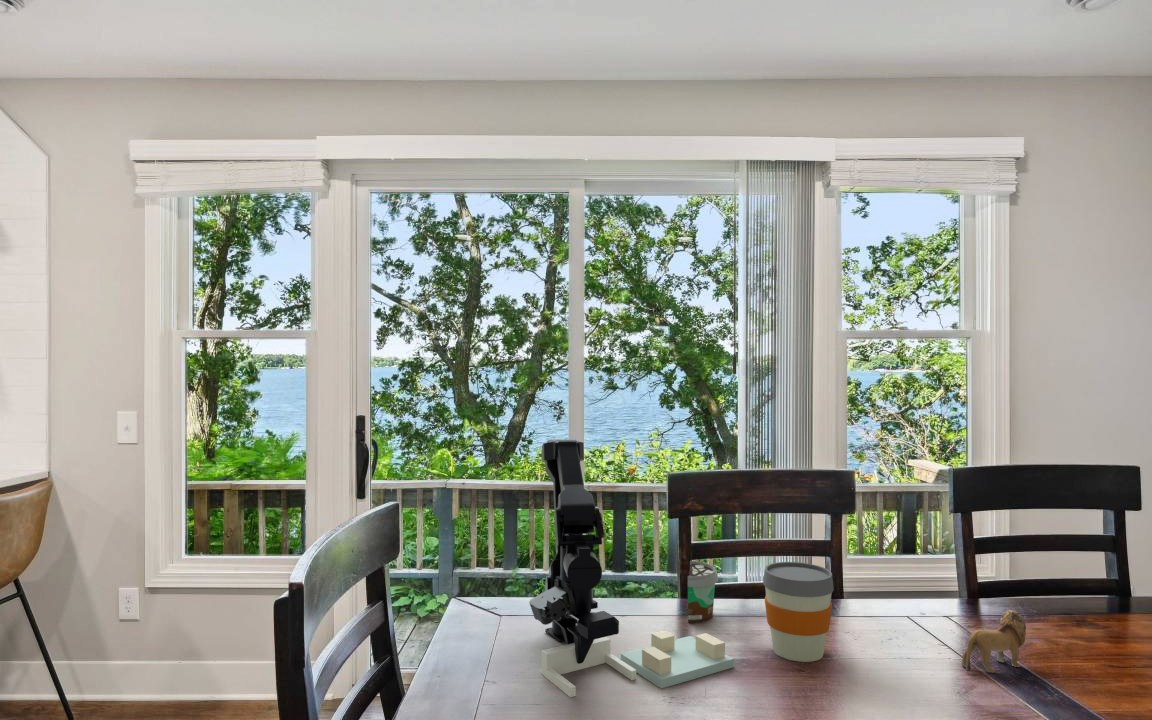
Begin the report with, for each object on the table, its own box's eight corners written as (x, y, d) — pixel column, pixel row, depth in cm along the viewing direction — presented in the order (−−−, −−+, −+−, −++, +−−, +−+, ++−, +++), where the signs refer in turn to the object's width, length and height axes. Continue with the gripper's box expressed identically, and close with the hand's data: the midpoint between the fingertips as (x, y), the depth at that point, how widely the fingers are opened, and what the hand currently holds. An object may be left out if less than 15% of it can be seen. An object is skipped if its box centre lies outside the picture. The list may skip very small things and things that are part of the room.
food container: (718, 627, 144) (718, 578, 144) (687, 625, 145) (687, 576, 145) (718, 607, 156) (718, 561, 156) (690, 605, 157) (690, 559, 157)
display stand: (620, 661, 127) (620, 639, 127) (689, 643, 135) (689, 622, 135) (661, 688, 117) (661, 664, 117) (733, 667, 125) (733, 644, 125)
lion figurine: (1005, 653, 131) (1005, 604, 131) (1034, 664, 127) (1034, 613, 127) (953, 668, 125) (953, 617, 125) (982, 680, 120) (982, 627, 120)
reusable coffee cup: (836, 645, 135) (836, 566, 135) (830, 671, 124) (830, 585, 124) (769, 634, 140) (769, 558, 140) (757, 658, 129) (757, 576, 129)
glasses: (541, 673, 123) (541, 650, 123) (604, 657, 129) (604, 635, 129) (570, 697, 114) (570, 672, 114) (636, 678, 121) (636, 655, 121)
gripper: (512, 565, 129) (512, 651, 129) (563, 595, 113) (563, 693, 113) (565, 557, 135) (565, 639, 135) (620, 583, 119) (620, 677, 119)
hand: (576, 660), depth 125 cm, fingers closed on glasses, 2 cm apart
